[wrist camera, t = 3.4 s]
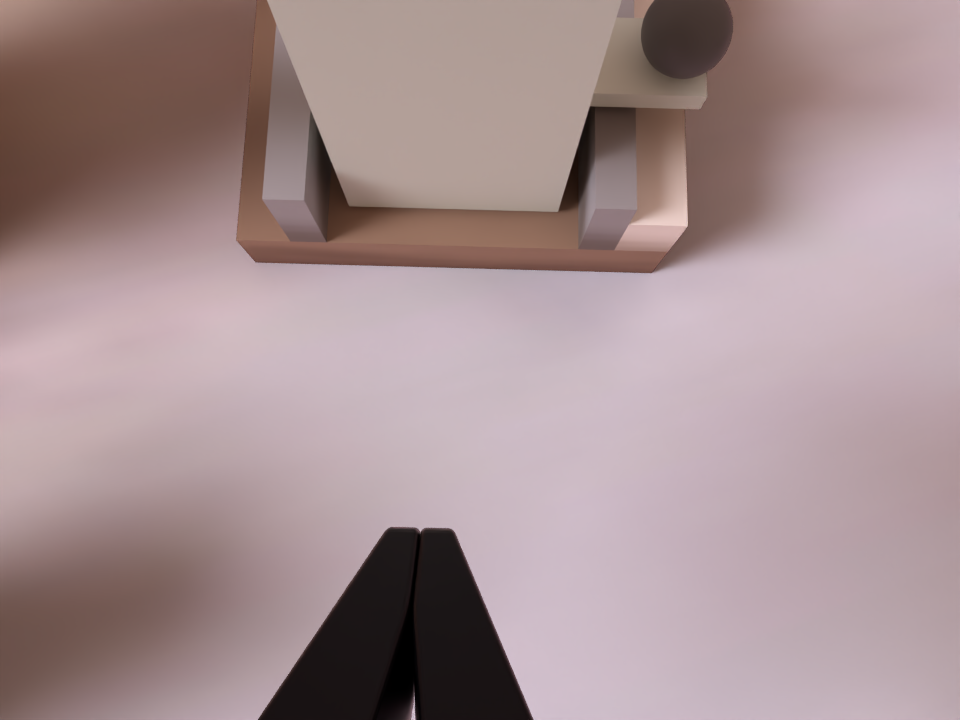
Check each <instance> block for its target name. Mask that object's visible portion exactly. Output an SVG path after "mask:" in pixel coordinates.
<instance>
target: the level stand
mask: <svg viewBox="0 0 960 720" xmlns="http://www.w3.org/2000/svg"><path fill="white" fill-rule="evenodd" d="M653 1H654V0H622V1H621V4H620V7H619V11H618V14H617V17H619V18H644V17H645V14H646V12H647V10H648V8H649V7H650V5H651V4H652V3H653ZM687 227H688V214H687V177H686V141H685V109H667V108H633V107H598V106H590V107H589V110H588V114H587V117H586V120H585V124H584V127H583V130H582V133H581V137H580V140H579V143H578V147H577V150H576V153H575V157H574V160H573V163H572V167H571V170H570V173H569V177H568V180H567V183H566V187H565V190H564V193H563V197H562V200H561V203H560V207H559V210H558V212H539V211H503V210H466V209H430V208H394V207H358V206H349V205H348V202H347V200H346V197H345V195H344V192H343V190H342V187H341V185H340V182H339V180H338V177H337V175H336V172H335V170H334V167H333V165H332V162H331V160H330V157H329V155H328V152H327V150H326V147H325V144H324V142H323V139H322V137H321V134H320V132H319V129H318V127H317V124H316V122H315V119H314V117H313V114H312V112H311V109H310V107H309V104H308V102H307V99H306V97H305V94H304V92H303V89H302V87H301V84H300V82H299V79H298V77H297V74H296V72H295V69H294V67H293V64H292V62H291V59H290V57H289V54H288V52H287V49H286V47H285V44H284V42H283V39H282V37H281V34H280V32H279V29H278V27H277V24H276V22H275V19H274V17H273V14H272V12H271V9H270V7H269V4H268V1H267V0H257V6H256V17H255V29H254V40H253V52H252V64H251V75H250V87H249V98H248V110H247V122H246V133H245V145H244V156H243V168H242V179H241V191H240V203H239V214H238V226H237V237H236V240H237V241H238V243H239V244H240V245H241V246H242V247H243V248H244V249H245V251H246V252H247V253H248V254H249V255H250V256H251V257H252V259H253V260H254V261H255V262H262V263H299V264H336V265H373V266H410V267H447V268H484V269H521V270H558V271H595V272H632V273H652V272H653V270H654V269H655V268H656V266H657V265H658V264H659V263H660V261H661V260H662V259H663V258H664V256H665V255H666V254H667V252H668V251H669V250H670V249H671V247H672V246H673V245H674V243H675V242H676V241H677V240H678V238H679V237H680V236H681V234H682V233H683V232H684V231H685V229H686V228H687Z"/></svg>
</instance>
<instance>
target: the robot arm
mask: <svg viewBox="0 0 960 720" xmlns="http://www.w3.org/2000/svg"><path fill="white" fill-rule="evenodd" d="M414 692H415V719H416V720H533V717H532V715H531V713H530V710H529V708H528V706H527V703H526V701H525V698H524V696H523V694H522V691H521V689H520V686H519V684H518V682H517V679H516V677H515V675H514V672H513V670H512V667H511V665H510V663H509V660H508V658H507V655H506V653H505V651H504V648H503V646H502V644H501V641H500V639H499V636H498V634H497V632H496V629H495V627H494V624H493V622H492V620H491V617H490V615H489V613H488V610H487V608H486V605H485V603H484V601H483V598H482V596H481V593H480V591H479V589H478V586H477V584H476V582H475V579H474V577H473V574H472V572H471V570H470V567H469V565H468V562H467V560H466V558H465V555H464V553H463V551H462V548H461V546H460V543H459V541H458V539H457V536H456V534H455V532H454V531H453V530H452V529H449V528H424V529H423V530H422V531H421V534H420V531H419V530H418V529H417V528H413V527H390V528H388V529H387V530H386V531H385V532H384V533H383V535H382V536H381V538H380V539H379V541H378V542H377V544H376V545H375V547H374V548H373V550H372V551H371V553H370V554H369V556H368V557H367V559H366V560H365V561H364V563H363V564H362V566H361V567H360V569H359V570H358V572H357V573H356V575H355V576H354V578H353V579H352V581H351V582H350V584H349V585H348V587H347V588H346V590H345V591H344V593H343V594H342V596H341V597H340V599H339V600H338V601H337V603H336V604H335V606H334V607H333V609H332V610H331V612H330V613H329V615H328V616H327V618H326V619H325V621H324V622H323V624H322V625H321V627H320V628H319V630H318V631H317V633H316V634H315V636H314V637H313V639H312V640H311V641H310V643H309V644H308V646H307V647H306V649H305V650H304V652H303V653H302V655H301V656H300V658H299V659H298V661H297V662H296V664H295V665H294V667H293V668H292V670H291V671H290V673H289V674H288V676H287V677H286V679H285V680H284V681H283V683H282V684H281V686H280V687H279V689H278V690H277V692H276V693H275V695H274V696H273V698H272V699H271V701H270V702H269V704H268V705H267V707H266V708H265V710H264V711H263V713H262V714H261V716H260V717H259V719H258V720H411V716H412V709H413V703H414Z"/></svg>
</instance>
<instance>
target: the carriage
mask: <svg viewBox="0 0 960 720" xmlns="http://www.w3.org/2000/svg"><path fill="white" fill-rule="evenodd" d="M267 1H268V4H269V7H270V9H271V12H272V14H273V17H274V19H275V22H276V24H277V27H278V29H279V32H280V34H281V37H282V39H283V42H284V44H285V47H286V49H287V52H288V54H289V57H290V59H291V62H292V64H293V67H294V69H295V72H296V74H297V77H298V79H299V82H300V84H301V87H302V89H303V92H304V94H305V97H306V99H307V102H308V104H309V107H310V109H311V112H312V114H313V117H314V119H315V122H316V124H317V127H318V129H319V132H320V134H321V137H322V139H323V142H324V144H325V147H326V150H327V152H328V155H329V157H330V160H331V162H332V165H333V167H334V170H335V172H336V175H337V177H338V180H339V182H340V185H341V187H342V190H343V192H344V195H345V197H346V200H347V202H348V205H349V206H358V207H394V208H430V209H466V210H503V211H539V212H558V210H559V207H560V203H561V200H562V197H563V193H564V190H565V187H566V183H567V180H568V177H569V173H570V170H571V167H572V163H573V160H574V157H575V153H576V150H577V147H578V143H579V140H580V137H581V133H582V130H583V127H584V124H585V120H586V117H587V114H588V110H589V107H590V106H598V107H633V108H667V109H701V107H702V105H703V103H704V102H705V100H706V98H707V71H709V70H710V69H712V68H713V67H714V66H715V65H716V64H717V63H718V62H719V61H720V60H721V59H722V57H723V56H724V54H725V53H726V51H727V49H728V47H729V44H730V41H731V37H732V32H733V20H732V15H731V11H730V8H729V6H728V4H727V2H726V1H725V0H654V1H653V3H652V4H651V5H650V7H649V8H648V10H647V12H646V14H645V17H644V18H619V17H617V14H618V11H619V7H620V4H621V1H622V0H267Z"/></svg>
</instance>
